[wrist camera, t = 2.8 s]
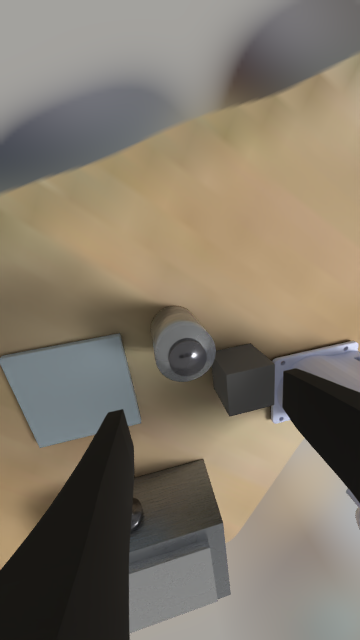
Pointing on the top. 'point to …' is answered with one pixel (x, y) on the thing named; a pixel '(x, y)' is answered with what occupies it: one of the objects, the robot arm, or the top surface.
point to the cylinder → (181, 344)
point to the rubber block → (243, 379)
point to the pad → (72, 387)
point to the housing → (175, 546)
